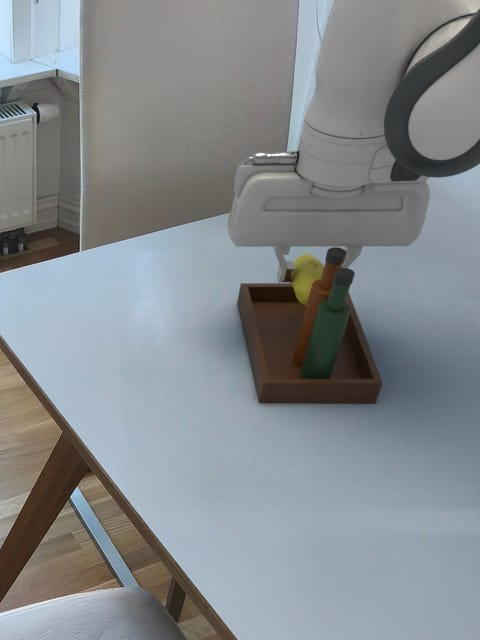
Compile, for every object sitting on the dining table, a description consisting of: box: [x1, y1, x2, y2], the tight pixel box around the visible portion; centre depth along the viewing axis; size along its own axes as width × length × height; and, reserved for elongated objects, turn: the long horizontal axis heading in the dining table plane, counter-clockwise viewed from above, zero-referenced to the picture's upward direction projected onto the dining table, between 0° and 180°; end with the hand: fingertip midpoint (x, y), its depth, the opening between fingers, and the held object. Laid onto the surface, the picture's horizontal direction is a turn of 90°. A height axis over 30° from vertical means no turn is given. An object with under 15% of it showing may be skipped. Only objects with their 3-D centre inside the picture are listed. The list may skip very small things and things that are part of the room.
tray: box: [236, 282, 384, 404], centre depth 102 cm, size 13×21×3 cm, turn 177°
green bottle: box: [299, 267, 356, 379], centre depth 93 cm, size 3×3×13 cm
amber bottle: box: [293, 246, 346, 366], centre depth 96 cm, size 3×3×13 cm
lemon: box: [289, 253, 325, 306], centre depth 100 cm, size 4×8×4 cm, turn 170°
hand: (308, 280), depth 100 cm, fingers closed on lemon, 4 cm apart
